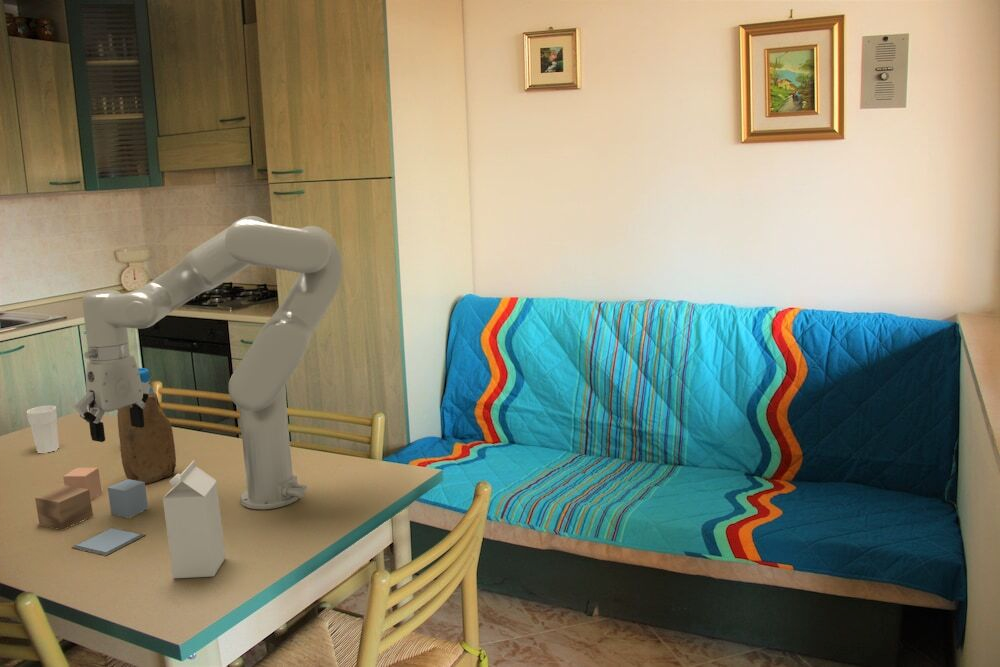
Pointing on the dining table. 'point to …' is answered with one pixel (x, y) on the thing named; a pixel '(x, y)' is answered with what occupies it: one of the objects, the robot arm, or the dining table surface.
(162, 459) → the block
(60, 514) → the walnut block
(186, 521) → the milk carton
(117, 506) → the slate block
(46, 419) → the cup
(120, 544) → the swatch
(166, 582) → the dining table surface
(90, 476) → the terracotta block
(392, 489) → the dining table surface
